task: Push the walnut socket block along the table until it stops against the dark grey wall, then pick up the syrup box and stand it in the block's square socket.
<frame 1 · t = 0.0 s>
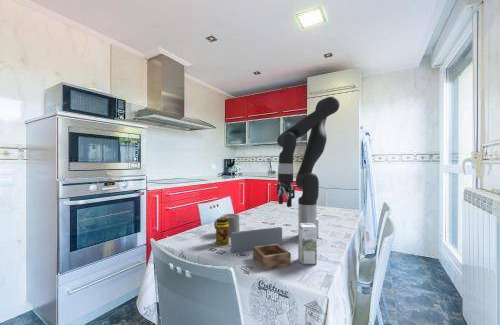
hand: (284, 205, 112), 17 cm above the table, tool pointing down, fingers open, 8 cm apart
backstop wall: (257, 248, 101), on the table
coffee mug: (226, 234, 121), on the table
condiment: (221, 244, 107), on the table
socket block: (271, 255, 87), point 2 cm above the table, slide at 0.0 cm
syrup box: (307, 262, 87), on the table
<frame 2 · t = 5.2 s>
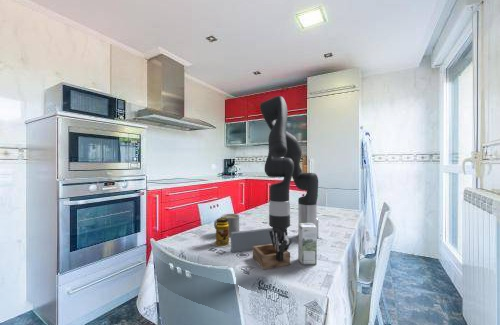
hand: (279, 260, 81), 3 cm above the table, tool pointing down, fingers closed
socket block: (270, 255, 88), point 2 cm above the table, slide at 0.5 cm, touching gripper
everything else where it was.
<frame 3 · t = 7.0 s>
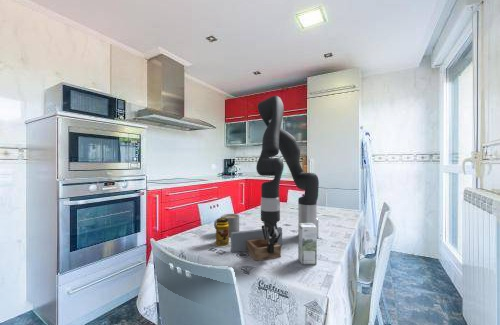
hand: (270, 252, 88), 3 cm above the table, tool pointing down, fingers closed
socket block: (263, 248, 95), point 2 cm above the table, slide at 8.0 cm, touching gripper
everything else where it was.
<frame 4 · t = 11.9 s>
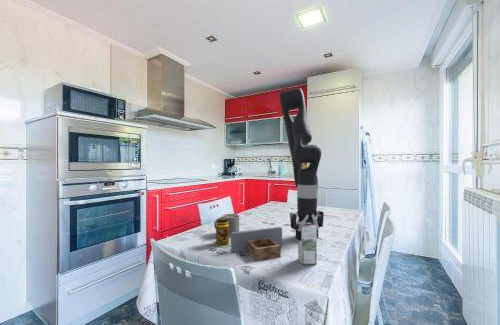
hand: (307, 239, 87), 9 cm above the table, tool pointing down, fingers closed on syrup box, 6 cm apart
socket block: (263, 248, 95), point 2 cm above the table, slide at 8.0 cm
syrup box: (307, 262, 87), on the table, touching gripper
everything else where it was.
when the fingers open (11 cm above the table, at t = 18.5 s): syrup box drops 1 cm, resting on socket block.
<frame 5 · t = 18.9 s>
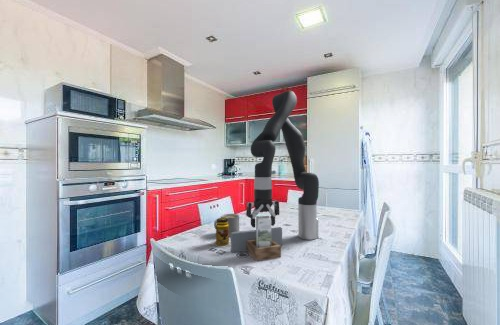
hand: (263, 226, 95), 12 cm above the table, tool pointing down, fingers open, 8 cm apart
socket block: (263, 248, 95), point 2 cm above the table, slide at 7.9 cm, touching syrup box
syrup box: (263, 251, 95), point 1 cm above the table, touching socket block
everything else where it was.
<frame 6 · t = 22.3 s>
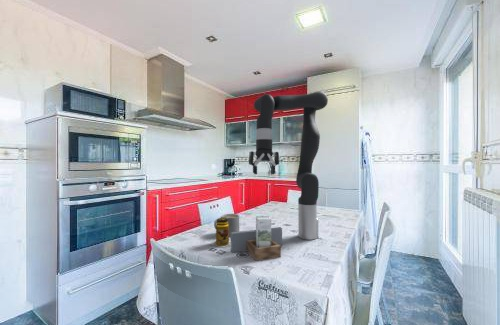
hand: (264, 174, 104), 33 cm above the table, tool pointing down, fingers open, 8 cm apart
nothing on the table moved.
at the end: socket block slide at 8.0 cm; syrup box 0.1 cm from the target spot, point 0.8 cm above the table; syrup box tilted 0° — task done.
